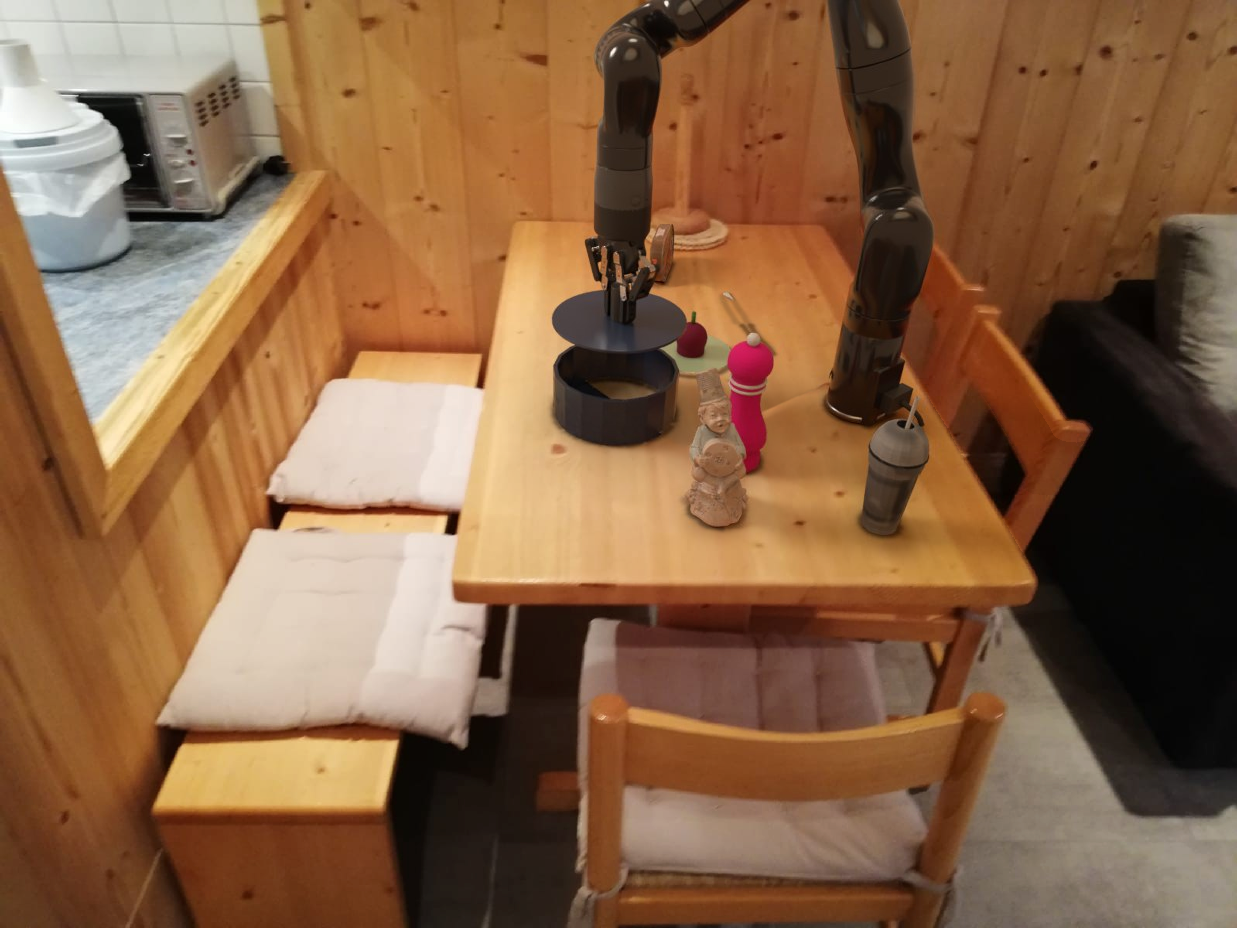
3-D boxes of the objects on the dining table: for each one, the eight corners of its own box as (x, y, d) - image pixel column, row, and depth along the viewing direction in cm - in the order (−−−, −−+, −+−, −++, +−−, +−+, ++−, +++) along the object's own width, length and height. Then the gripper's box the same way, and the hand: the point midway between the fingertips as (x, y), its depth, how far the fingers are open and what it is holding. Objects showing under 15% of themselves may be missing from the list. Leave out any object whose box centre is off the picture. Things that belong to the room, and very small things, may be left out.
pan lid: (714, 331, 127) (718, 292, 124) (608, 372, 117) (609, 330, 114) (628, 284, 139) (629, 247, 136) (525, 317, 129) (523, 278, 126)
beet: (712, 353, 151) (716, 313, 147) (689, 362, 148) (693, 321, 144) (691, 341, 154) (695, 301, 150) (668, 349, 151) (671, 309, 147)
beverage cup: (899, 506, 121) (935, 376, 109) (915, 542, 115) (955, 409, 103) (844, 505, 120) (875, 375, 109) (858, 542, 114) (892, 408, 103)
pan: (700, 418, 136) (705, 375, 132) (603, 460, 126) (605, 415, 122) (623, 368, 147) (625, 327, 143) (529, 404, 138) (528, 360, 133)
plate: (749, 360, 151) (750, 356, 151) (687, 386, 144) (687, 381, 143) (692, 328, 160) (692, 324, 159) (631, 350, 152) (631, 346, 152)
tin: (662, 289, 172) (665, 247, 167) (646, 287, 173) (648, 245, 168) (674, 258, 184) (677, 218, 179) (659, 256, 185) (661, 216, 180)
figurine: (679, 488, 122) (691, 357, 110) (741, 487, 123) (760, 357, 111) (687, 530, 115) (702, 396, 103) (753, 529, 116) (775, 395, 104)
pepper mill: (721, 478, 124) (738, 349, 112) (703, 449, 130) (718, 323, 118) (770, 471, 126) (792, 344, 114) (750, 442, 131) (769, 318, 120)
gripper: (680, 207, 115) (672, 329, 125) (611, 177, 124) (609, 293, 134) (635, 219, 111) (630, 345, 121) (567, 187, 120) (568, 307, 130)
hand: (619, 317), depth 128 cm, fingers closed on pan lid, 2 cm apart
